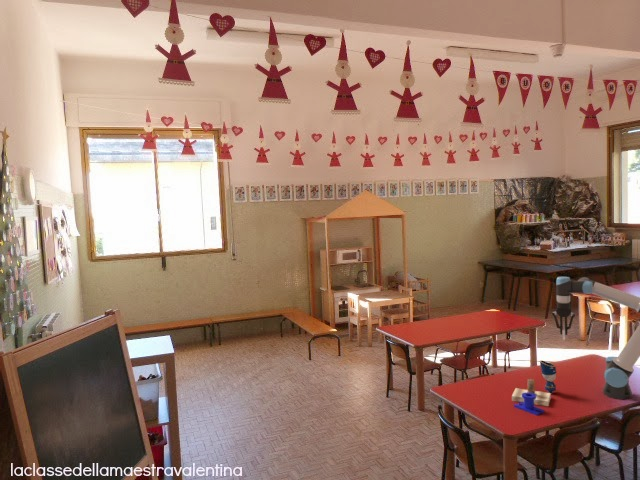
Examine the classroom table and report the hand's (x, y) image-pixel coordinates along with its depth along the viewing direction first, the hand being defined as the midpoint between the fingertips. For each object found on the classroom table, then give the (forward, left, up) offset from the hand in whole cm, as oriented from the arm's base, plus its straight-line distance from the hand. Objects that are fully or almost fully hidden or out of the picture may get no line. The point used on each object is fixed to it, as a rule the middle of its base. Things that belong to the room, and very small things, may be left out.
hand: (563, 339), depth 293 cm
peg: (+17, +17, -34) cm, 42 cm away
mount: (+16, +33, -35) cm, 50 cm away
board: (+17, +17, -34) cm, 42 cm away
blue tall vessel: (+9, +1, -35) cm, 36 cm away
